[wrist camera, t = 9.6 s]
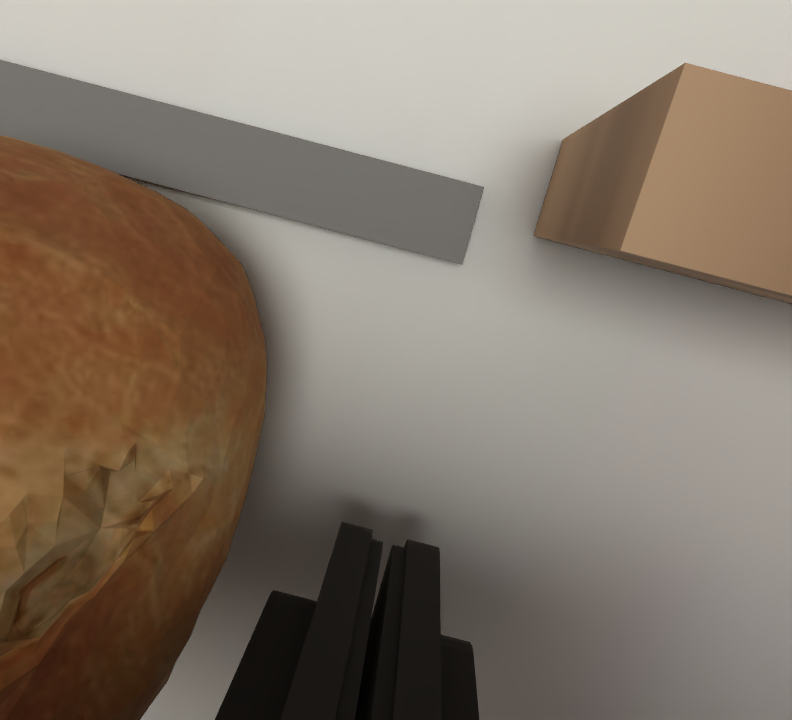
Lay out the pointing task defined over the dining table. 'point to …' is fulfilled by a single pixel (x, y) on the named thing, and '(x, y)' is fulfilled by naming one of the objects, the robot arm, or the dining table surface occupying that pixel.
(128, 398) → the bread roll
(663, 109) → the channel
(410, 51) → the dining table surface
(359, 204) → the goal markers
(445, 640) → the robot arm
